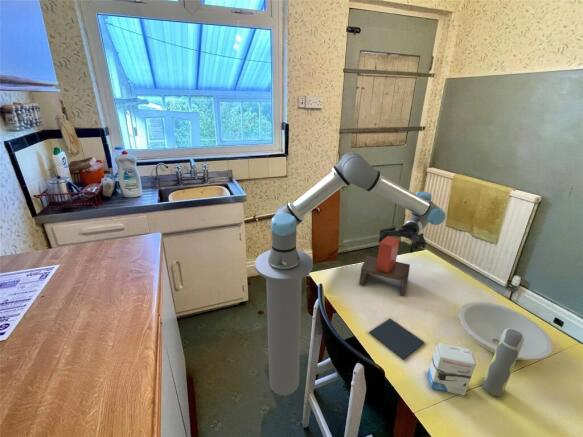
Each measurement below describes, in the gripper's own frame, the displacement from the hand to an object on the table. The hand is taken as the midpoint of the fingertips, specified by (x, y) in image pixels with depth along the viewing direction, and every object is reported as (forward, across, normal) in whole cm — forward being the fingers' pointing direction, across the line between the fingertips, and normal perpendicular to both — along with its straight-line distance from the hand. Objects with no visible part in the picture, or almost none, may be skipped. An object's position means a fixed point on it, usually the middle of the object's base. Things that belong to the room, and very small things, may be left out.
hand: (395, 244), depth 121 cm
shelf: (+8, 0, -15) cm, 17 cm away
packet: (+8, 0, -7) cm, 10 cm away
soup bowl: (+16, -41, -15) cm, 47 cm away
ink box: (+42, -32, -15) cm, 55 cm away
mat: (+35, -16, -15) cm, 41 cm away
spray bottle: (+36, -42, -15) cm, 57 cm away
